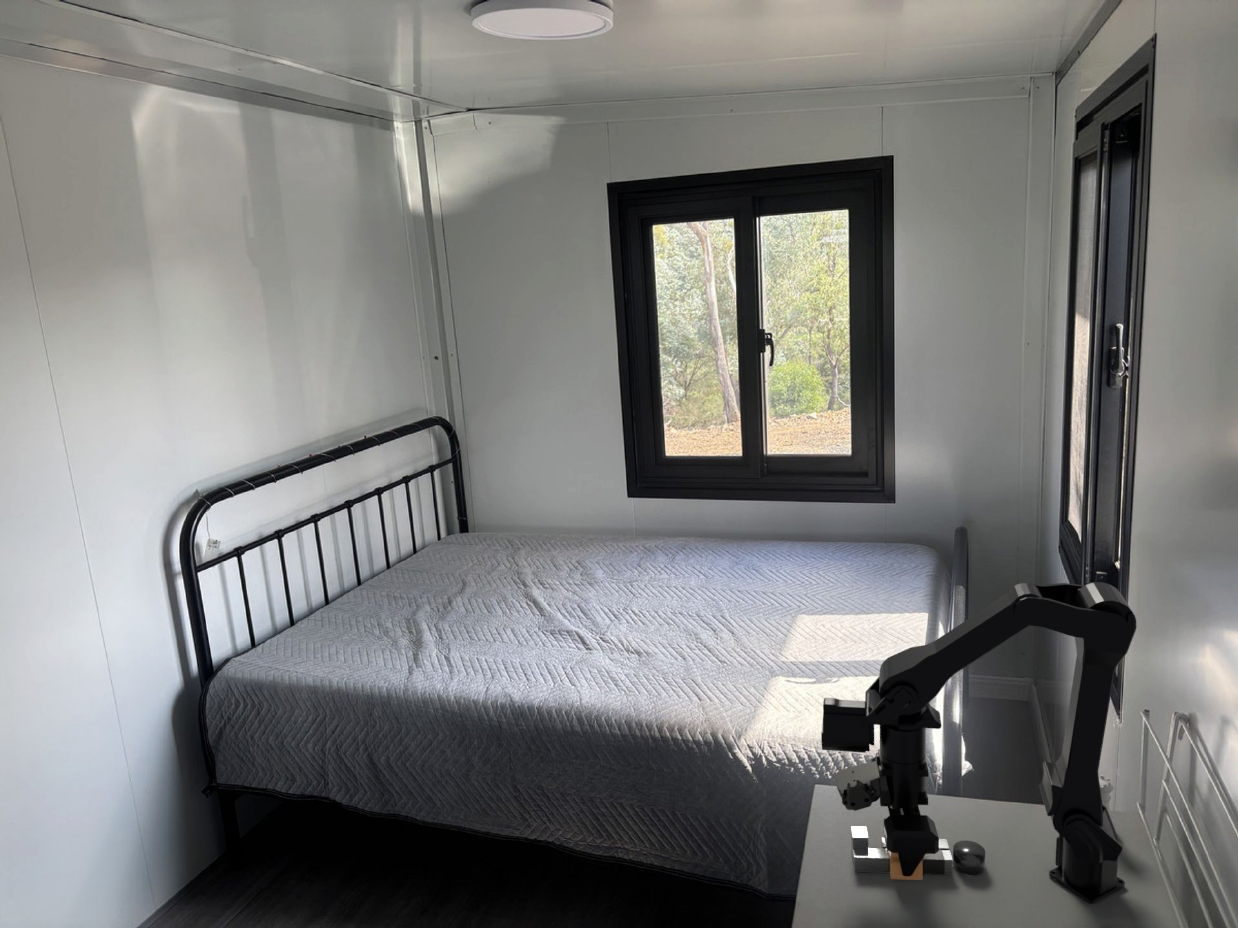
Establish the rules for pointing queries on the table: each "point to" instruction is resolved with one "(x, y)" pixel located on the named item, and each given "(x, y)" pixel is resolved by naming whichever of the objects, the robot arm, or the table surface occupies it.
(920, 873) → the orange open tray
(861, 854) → the arm
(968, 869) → the tongs fixed
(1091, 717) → the robot arm
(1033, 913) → the table surface
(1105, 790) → the rook chess piece
